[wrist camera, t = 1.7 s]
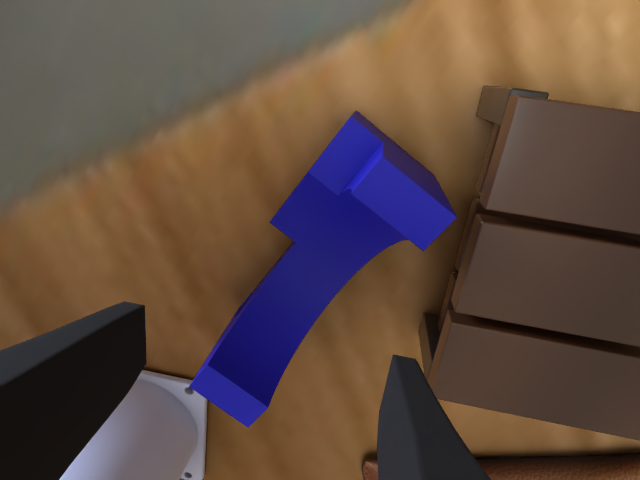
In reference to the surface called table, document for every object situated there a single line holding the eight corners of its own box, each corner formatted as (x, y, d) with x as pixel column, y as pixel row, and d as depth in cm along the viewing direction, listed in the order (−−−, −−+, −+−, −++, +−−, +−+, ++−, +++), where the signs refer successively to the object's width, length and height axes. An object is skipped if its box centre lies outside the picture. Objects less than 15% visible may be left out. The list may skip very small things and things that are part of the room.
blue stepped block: (355, 110, 18) (343, 124, 12) (434, 175, 18) (456, 217, 13) (214, 294, 22) (158, 365, 17) (281, 342, 23) (248, 427, 17)
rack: (418, 331, 21) (430, 425, 16) (483, 85, 17) (534, 88, 11) (620, 370, 20) (712, 483, 15) (746, 122, 16) (948, 146, 10)
